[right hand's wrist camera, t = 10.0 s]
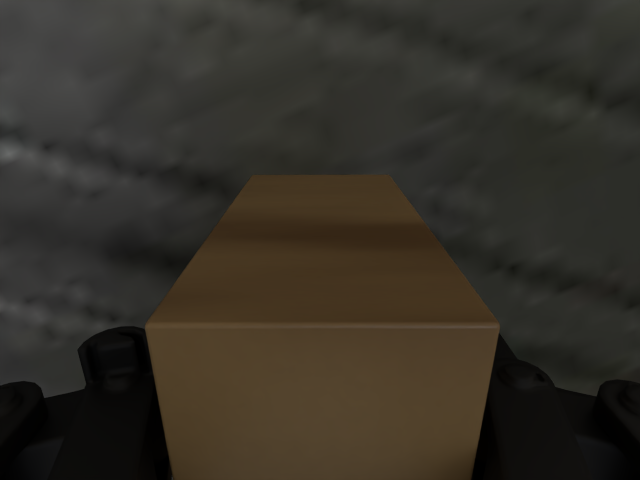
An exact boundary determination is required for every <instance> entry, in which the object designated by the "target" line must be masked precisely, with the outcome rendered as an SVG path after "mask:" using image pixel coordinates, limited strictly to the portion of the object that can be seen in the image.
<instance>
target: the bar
mask: <svg viewBox="0 0 640 480" xmlns="http://www.w3.org/2000/svg"><path fill="white" fill-rule="evenodd" d="M499 329H500V325H499V322H498V321H497V319H496V318H495V317H494V315H493V314H492V313H491V311H490V310H489V309H488V307H487V306H486V305H485V303H484V302H483V301H482V299H481V298H480V297H479V295H478V294H477V293H476V291H475V290H474V288H473V287H472V286H471V284H470V283H469V282H468V280H467V279H466V278H465V276H464V275H463V274H462V272H461V271H460V270H459V268H458V267H457V266H456V264H455V263H454V262H453V260H452V259H451V258H450V256H449V255H448V253H447V252H446V251H445V249H444V248H443V247H442V245H441V244H440V243H439V241H438V240H437V239H436V237H435V236H434V235H433V233H432V232H431V231H430V229H429V228H428V227H427V225H426V224H425V222H424V221H423V220H422V218H421V217H420V216H419V214H418V213H417V212H416V210H415V209H414V208H413V206H412V205H411V204H410V202H409V201H408V200H407V198H406V197H405V196H404V194H403V193H402V192H401V190H400V189H399V187H398V186H397V185H396V183H395V182H394V181H393V179H392V178H391V177H390V175H252V176H251V177H250V179H249V180H248V182H247V183H246V184H245V186H244V187H243V189H242V190H241V191H240V193H239V194H238V196H237V197H236V198H235V200H234V201H233V203H232V204H231V205H230V207H229V208H228V209H227V211H226V212H225V214H224V215H223V216H222V218H221V219H220V221H219V222H218V223H217V225H216V226H215V228H214V229H213V230H212V232H211V233H210V235H209V236H208V237H207V239H206V240H205V241H204V243H203V244H202V246H201V247H200V248H199V250H198V251H197V253H196V254H195V255H194V257H193V258H192V260H191V261H190V262H189V264H188V265H187V267H186V268H185V269H184V271H183V272H182V274H181V275H180V276H179V278H178V279H177V280H176V282H175V283H174V285H173V286H172V287H171V289H170V290H169V292H168V293H167V294H166V296H165V297H164V299H163V300H162V301H161V303H160V304H159V306H158V307H157V308H156V310H155V311H154V313H153V314H152V315H151V317H150V318H149V319H148V321H147V322H146V325H145V331H146V336H147V342H148V347H149V352H150V358H151V363H152V369H153V374H154V379H155V385H156V390H157V396H158V401H159V406H160V412H161V417H162V423H163V428H164V433H165V439H166V444H167V450H168V455H169V460H170V466H171V471H172V477H173V480H471V478H472V473H473V468H474V462H475V457H476V452H477V446H478V441H479V436H480V430H481V425H482V420H483V414H484V409H485V404H486V398H487V393H488V388H489V383H490V377H491V372H492V367H493V361H494V356H495V351H496V345H497V340H498V335H499Z"/></svg>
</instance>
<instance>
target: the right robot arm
mask: <svg viewBox="0 0 640 480" xmlns="http://www.w3.org/2000/svg"><path fill="white" fill-rule="evenodd" d="M78 354H79V358H80V362H81V365H82V369H83V373H84V377H85V381H86V386H85V389H82V390H79V391H75V392H71V393H66V394H62V395H57V396H52V397H48V398H44V396H43V393H42V390H41V387H39V386H38V385H37V384H36V383H33V382H26V381H21V382H13V383H8V384H4V385H0V480H171V479H172V471H171V466H170V460H169V455H168V450H167V444H166V439H165V433H164V428H163V423H162V417H161V412H160V406H159V401H158V396H157V390H156V385H155V379H154V374H153V369H152V363H151V358H150V352H149V347H148V342H147V336H146V331H145V330H144V329H143V328H139V327H135V326H124V327H117V328H112V329H108V330H105V331H103V332H100V333H98V334H95V335H94V336H92V337H91V338H89V339H88V340H86V341H85V342H84V343H83V344H82V345H81V346H80V347H79V349H78ZM471 480H640V384H639V383H636V382H632V381H626V380H618V379H617V380H610V381H606V382H604V383H603V384H602V385H601V386H600V388H599V391H598V394H597V397H596V396H591V395H587V394H582V393H577V392H573V391H568V390H564V389H561V388H557V387H555V386H554V383H553V382H552V380H551V379H550V378H549V376H548V375H547V374H546V373H545V372H543V371H542V370H541V369H539V368H538V367H536V366H534V365H532V364H530V363H528V362H525V361H522V360H518V359H517V358H516V356H515V355H514V353H513V352H512V351H511V349H510V348H509V346H508V345H507V343H506V342H505V341H504V339H503V338H502V336H501V335H500V334H499V335H498V340H497V345H496V351H495V356H494V361H493V367H492V372H491V377H490V383H489V388H488V393H487V398H486V404H485V409H484V414H483V420H482V425H481V430H480V436H479V441H478V446H477V452H476V457H475V462H474V468H473V473H472V478H471Z"/></svg>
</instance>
